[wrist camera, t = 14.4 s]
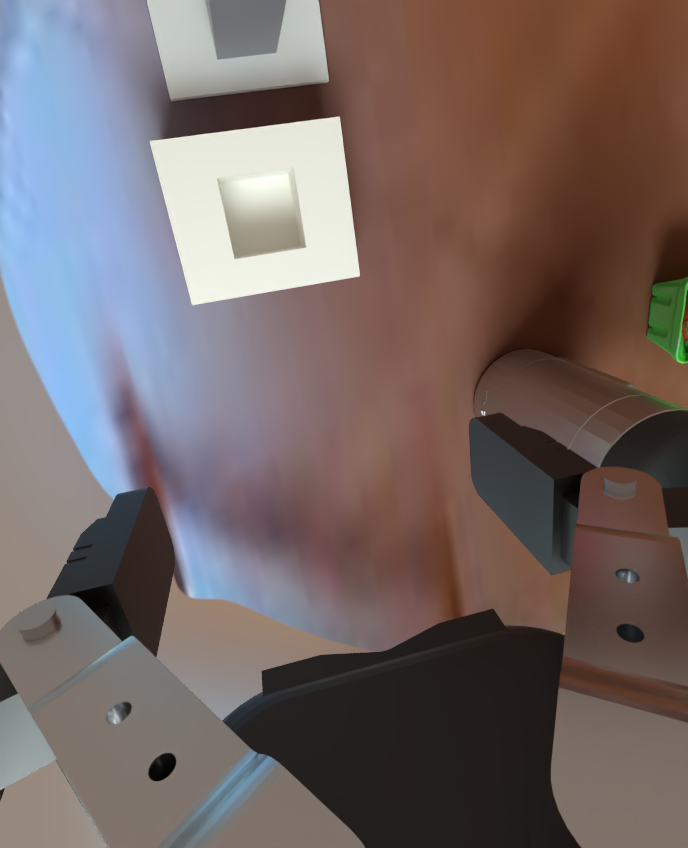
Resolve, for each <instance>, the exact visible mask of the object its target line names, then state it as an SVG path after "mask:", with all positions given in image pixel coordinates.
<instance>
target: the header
mask: <svg viewBox="0 0 688 848" xmlns="http://www.w3.org/2000/svg"><path fill="white" fill-rule="evenodd" d="M150 145H151V148H152V152H153V156H154V160H155V164H156V168H157V171H158V175H159V179H160V183H161V187H162V191H163V195H164V198H165V202H166V206H167V210H168V214H169V218H170V221H171V225H172V229H173V233H174V237H175V241H176V244H177V248H178V252H179V256H180V260H181V264H182V267H183V271H184V275H185V279H186V283H187V287H188V291H189V294H190V298H191V302H192V305H196V304H202V303H207V302H213V301H219V300H225V299H231V298H236V297H242V296H248V295H254V294H260V293H265V292H271V291H277V290H283V289H289V288H294V287H300V286H306V285H312V284H318V283H323V282H329V281H335V280H341V279H347V278H352V277H358V276H360V273H359V265H358V257H357V249H356V241H355V233H354V225H353V217H352V209H351V201H350V193H349V186H348V178H347V170H346V162H345V154H344V146H343V138H342V130H341V122H340V117H332V118H325V119H317V120H309V121H301V122H294V123H286V124H278V125H271V126H263V127H255V128H247V129H240V130H232V131H224V132H217V133H209V134H201V135H193V136H186V137H178V138H170V139H163V140H155V141H150Z"/></svg>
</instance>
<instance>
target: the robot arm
mask: <svg viewBox="0 0 688 848" xmlns="http://www.w3.org/2000/svg"><path fill="white" fill-rule="evenodd" d="M474 409H475V415H476V418H472V419H471V420H470V423H469V440H470V460H471V476H472V481H473V484H474V487H475V489H476V491H477V493H478V495H479V496H480V497H481V498H482V499H483V500H484V501H485V503H486V504H487V505H488V506H489V507H490V508H491V509H492V510H493V511H494V513H495V514H496V515H497V516H498V517H499V518H500V519H501V520H502V521H503V522H504V524H505V525H506V526H507V527H508V528H509V529H510V530H511V531H512V532H513V533H514V535H515V536H516V537H517V538H518V539H519V540H520V541H521V542H522V543H523V544H524V546H525V547H526V548H527V549H528V550H529V551H530V552H531V553H532V554H533V556H534V557H535V558H536V559H537V560H538V561H539V562H540V563H541V564H542V565H543V567H544V568H545V569H546V570H547V571H548V572H549V573H550V574H551V575H554V574H558V573H562V572H566V571H569V570H571V577H570V587H569V597H568V608H567V618H566V629H565V635H563V634H560V633H557V632H553V631H549V630H545V629H540V628H534V627H527V626H504V624H503V623H502V621H501V620H500V618H499V617H498V615H497V614H496V612H495V611H494V609H490V610H487V611H483V612H479V613H475V614H472V615H468V616H464V617H461V618H457V619H453V620H449V621H446V622H442V623H439V624H437V625H435V626H433V627H431V628H429V629H427V630H425V631H423V632H422V633H420V634H418V635H416V636H414V637H412V638H410V639H408V640H407V641H405V642H403V643H401V644H399V645H397V646H395V647H393V648H391V649H389V650H387V651H383V652H369V653H351V654H330V655H319V656H315V657H312V658H308V659H304V660H301V661H297V662H293V663H289V664H286V665H282V666H278V667H275V668H271V669H267V670H263V671H262V686H263V692H261V693H260V694H258V695H256V696H254V697H253V698H251V699H249V700H248V701H246V702H245V703H243V704H242V705H240V706H239V707H238V708H237V709H235V710H234V711H233V712H232V713H230V714H229V715H228V716H227V717H226V718H225V719H224V720H223V721H222V720H220V719H219V718H218V717H217V716H216V715H215V714H214V713H213V712H212V711H211V710H210V709H209V708H208V707H207V706H206V705H205V704H204V703H203V702H202V701H201V700H200V699H199V698H198V697H197V696H195V694H194V693H192V692H191V691H190V690H189V689H188V688H187V687H186V686H185V685H184V684H183V683H182V682H181V681H180V680H179V679H178V678H177V677H176V676H175V675H174V674H173V673H172V672H171V671H170V670H169V669H168V668H167V667H166V666H164V665H163V664H162V663H161V662H160V661H159V660H158V659H157V658H156V656H157V651H158V646H159V641H160V636H161V631H162V626H163V621H164V616H165V612H166V607H167V601H168V597H169V592H170V586H171V581H172V577H173V572H174V566H175V556H174V549H173V544H172V541H171V538H170V535H169V532H168V529H167V526H166V523H165V520H164V517H163V514H162V511H161V508H160V505H159V502H158V499H157V496H156V494H155V492H154V490H153V489H152V488H151V487H148V488H143V489H139V490H134V491H129V492H125V493H120V494H117V495H116V497H115V499H114V501H113V503H112V505H111V507H110V510H109V512H108V514H107V516H106V517H105V518H101V519H97V520H96V521H95V522H94V523H93V524H92V525H90V526H89V527H88V528H87V529H86V530H85V531H84V532H83V533H82V534H81V535H80V537H79V539H78V541H77V543H76V545H75V546H74V548H73V550H74V551H73V552H71V554H70V556H69V558H68V560H67V564H65V565H64V567H63V569H62V571H61V573H60V575H59V577H58V578H57V580H56V582H55V584H54V586H53V588H52V589H51V591H50V593H49V595H48V597H47V599H46V600H43V601H41V602H39V603H36V604H34V605H33V606H30V607H29V608H27V609H25V610H23V611H22V612H20V613H19V614H17V615H16V616H15V617H14V618H12V619H11V620H10V621H9V622H8V623H7V624H6V625H5V626H4V627H3V628H2V629H1V630H0V800H1V798H2V795H3V792H4V789H5V787H7V786H8V785H11V784H12V783H14V782H16V781H18V780H20V779H21V778H23V777H25V776H27V775H28V774H30V773H32V772H34V771H36V770H38V769H40V768H41V767H43V766H45V765H47V764H49V763H50V762H52V761H54V760H56V761H57V763H58V765H59V767H60V768H61V770H62V772H63V774H64V775H65V777H66V779H67V781H68V782H69V784H70V786H71V787H72V789H73V791H74V793H75V794H76V796H77V798H78V799H79V801H80V803H81V805H82V806H83V808H84V810H85V811H86V813H87V815H88V817H89V818H90V820H91V822H92V823H93V825H94V827H95V829H96V830H97V832H98V834H99V835H100V837H101V839H102V841H103V842H104V844H105V846H106V848H688V409H686V408H683V407H681V406H678V405H675V404H673V403H670V402H668V401H665V400H663V399H660V398H658V397H655V396H652V395H650V394H647V393H644V392H642V391H639V390H637V389H635V386H634V385H633V384H632V383H629V382H627V381H624V380H622V379H619V378H616V377H614V376H611V375H609V374H606V373H603V372H601V371H598V370H596V369H593V368H590V367H588V366H585V365H583V364H580V363H577V362H575V361H572V360H570V359H567V358H564V357H554V356H552V355H549V354H547V353H544V352H541V351H538V350H534V349H521V350H515V351H512V352H510V353H507V354H505V355H503V356H502V357H500V358H499V359H497V360H496V361H495V362H494V363H493V364H492V365H491V366H490V367H488V369H487V370H486V371H485V373H484V374H483V376H482V377H481V379H480V381H479V383H478V385H477V389H476V392H475V396H474Z"/></svg>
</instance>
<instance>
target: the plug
mask: <svg viewBox="0 0 688 848" xmlns="http://www.w3.org/2000/svg"><path fill="white" fill-rule="evenodd" d="M205 2H206V7H207V11H208V16H209V21H210V26H211V31H212V36H213V41H214V45H215V50H216V55H217V60H219V59H228V58H236V57H245V56H253V55H262V54H271V53H276V52H277V47H278V42H279V36H280V31H281V26H282V21H283V16H284V10H285V5H286V0H205Z"/></svg>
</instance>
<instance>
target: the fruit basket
mask: <svg viewBox="0 0 688 848" xmlns="http://www.w3.org/2000/svg"><path fill="white" fill-rule="evenodd" d="M652 294H653V297H652V300H651V304H650V312H649V321H648V322H649V326H650V327H649V329H648V331H647V338H649V339H650V340H652V341H653V342H654V343H656V344H657V345H659V346H660V347H661V348H663V349H664V350H666V351H667V352H669V353H670V354H671V356H672V357H673V358H674V359H675V360H677V361H678V362H679V363H687V362H688V277H686V278H684V279H679V280H673V281H668V282H662V283H656V284H654V285H653V287H652Z"/></svg>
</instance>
